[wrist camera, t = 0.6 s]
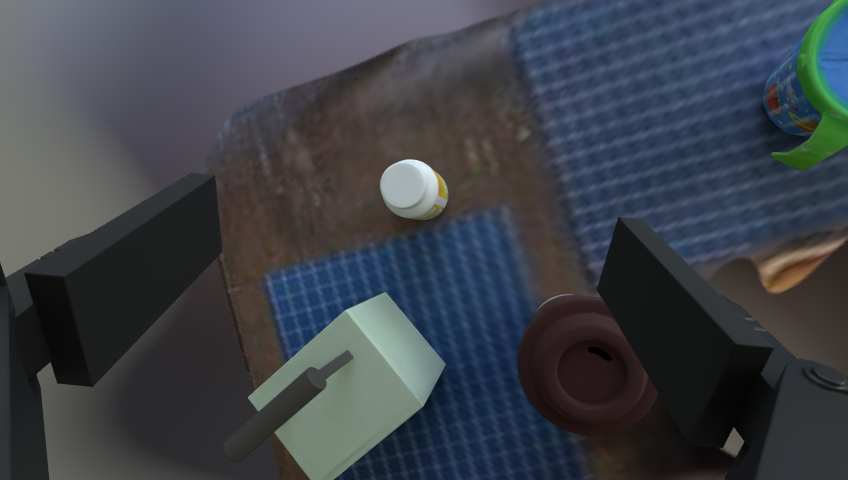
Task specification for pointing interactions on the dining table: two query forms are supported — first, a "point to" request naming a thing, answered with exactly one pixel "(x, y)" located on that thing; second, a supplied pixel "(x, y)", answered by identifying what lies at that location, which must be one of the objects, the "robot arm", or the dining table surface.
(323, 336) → the pale green square box
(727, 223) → the dining table surface
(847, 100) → the snack cup
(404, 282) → the dining table surface
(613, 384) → the coffee cup
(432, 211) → the supplement bottle
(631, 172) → the dining table surface
